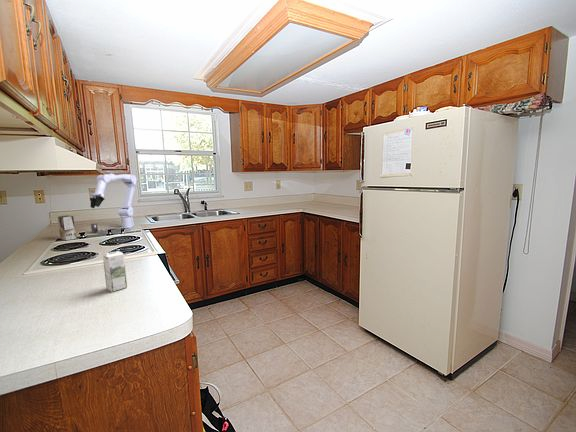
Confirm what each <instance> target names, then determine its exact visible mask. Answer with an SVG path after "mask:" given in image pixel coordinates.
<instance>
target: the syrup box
mask: <svg viewBox="0 0 576 432" xmlns="http://www.w3.org/2000/svg"><path fill="white" fill-rule="evenodd" d="M102 260H103V268H104V269H103V270H104V276H105V277H104V278H105V287H106V289H107V290H108V291H110V292H111V293H113V292H117V291H120V290H124V289H127V288H128V281H127V280H128V279H127V271H126V261H125V254H124V253H123V252H121V251H118V250H117V251H112V252H107V253H104V254H102Z"/></svg>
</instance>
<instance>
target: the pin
mask: <svg viewBox="0 0 576 432" xmlns="http://www.w3.org/2000/svg"><path fill="white" fill-rule="evenodd" d="M90 228H91V234H97V231H99V227H98V223H96V222H94V223H93V222H92V223H91V224H90Z"/></svg>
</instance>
